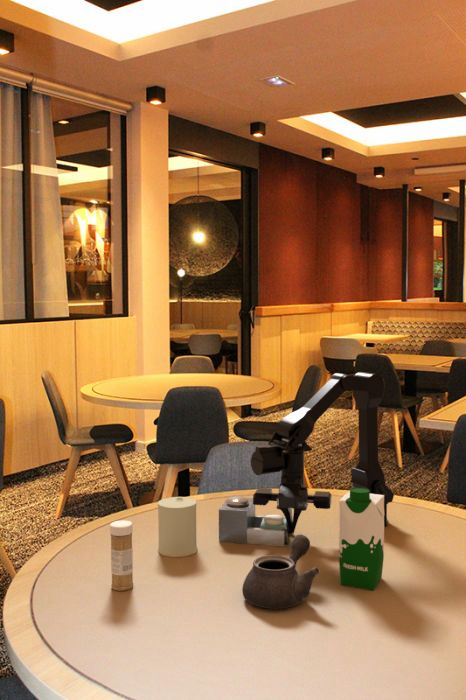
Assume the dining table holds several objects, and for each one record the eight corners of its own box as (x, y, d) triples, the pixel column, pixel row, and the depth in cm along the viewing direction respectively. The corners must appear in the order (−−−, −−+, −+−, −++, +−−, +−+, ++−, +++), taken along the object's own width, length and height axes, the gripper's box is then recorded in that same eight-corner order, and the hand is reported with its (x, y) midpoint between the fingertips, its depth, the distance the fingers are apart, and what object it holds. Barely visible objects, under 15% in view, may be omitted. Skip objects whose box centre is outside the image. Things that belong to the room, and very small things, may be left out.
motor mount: (292, 531, 180) (293, 496, 180) (287, 546, 170) (287, 509, 169) (228, 527, 184) (228, 493, 183) (218, 541, 173) (218, 505, 172)
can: (199, 543, 172) (199, 495, 171) (194, 557, 163) (193, 506, 162) (162, 542, 173) (161, 494, 172) (154, 556, 163) (153, 505, 163)
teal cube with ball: (286, 534, 178) (286, 514, 178) (285, 542, 172) (285, 521, 172) (262, 533, 179) (262, 513, 178) (260, 541, 173) (260, 520, 173)
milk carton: (334, 585, 146) (335, 490, 145) (347, 570, 155) (347, 480, 153) (377, 593, 143) (378, 495, 141) (387, 577, 151) (388, 484, 149)
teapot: (309, 621, 131) (309, 568, 130) (232, 607, 137) (232, 556, 136) (336, 583, 148) (336, 536, 147) (266, 572, 154) (266, 527, 153)
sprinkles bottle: (129, 581, 149) (128, 518, 148) (136, 589, 145) (135, 524, 144) (108, 585, 147) (107, 521, 146) (114, 593, 143) (113, 528, 142)
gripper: (248, 476, 168) (248, 541, 169) (328, 480, 164) (328, 546, 165) (256, 465, 178) (257, 526, 180) (331, 468, 175) (331, 531, 176)
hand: (292, 532), depth 175 cm, fingers closed
